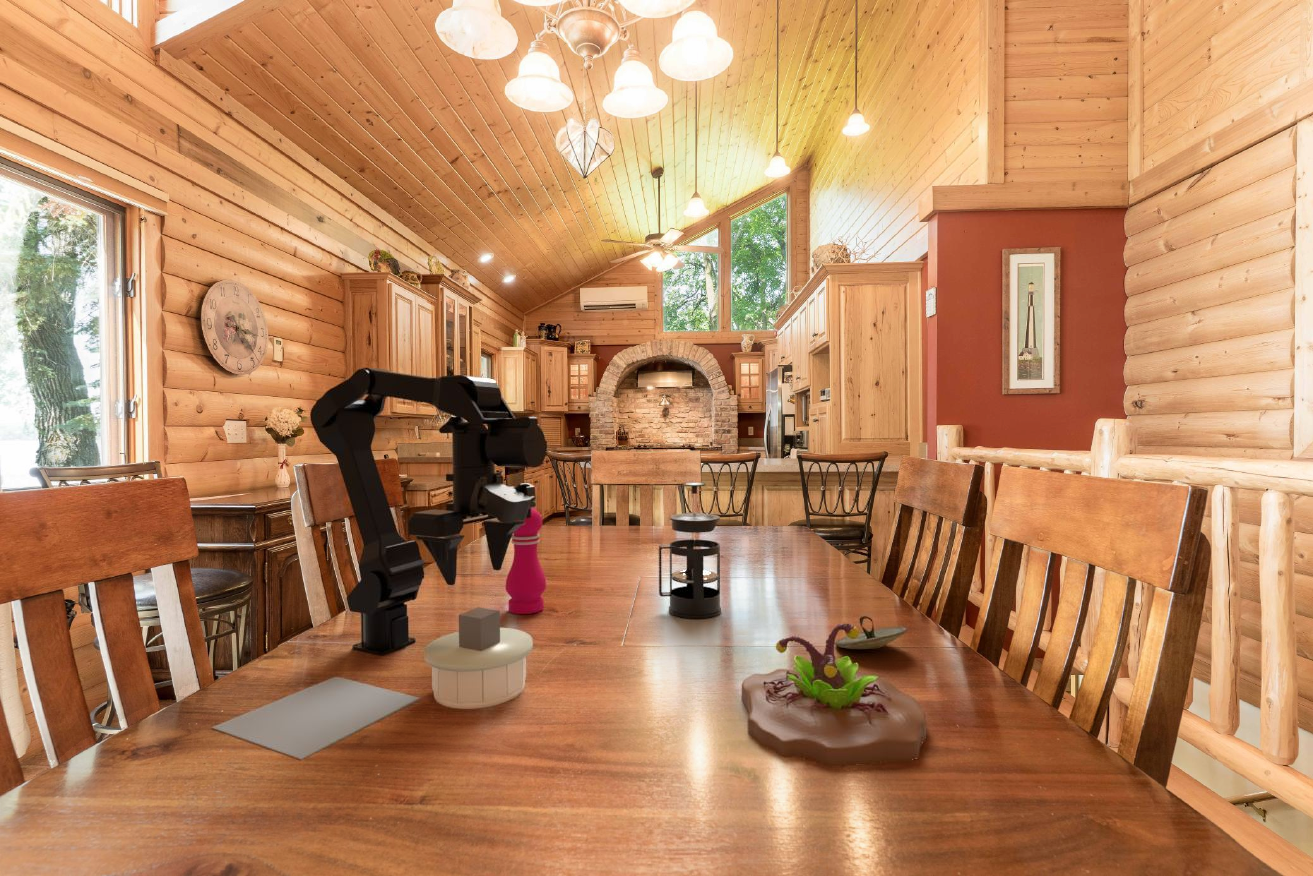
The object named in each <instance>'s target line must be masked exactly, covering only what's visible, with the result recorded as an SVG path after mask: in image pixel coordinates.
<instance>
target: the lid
mask: <svg viewBox="0 0 1313 876" xmlns="http://www.w3.org/2000/svg"><path fill="white" fill-rule="evenodd" d="M865 619H868V620H870V622H871V623H872V624H871V626H872V627H871V629H870V630H867V629H866V628H865V627H864V626H863V621H864V620H865ZM859 624H860V627H861V629H862V632H860V635H859V637H858V638H857V639H851V638H849V637H848V636H847V635H846V636H845V637H842V638H839V639H838V640H835V644H834V645H835V646H837V647H839V648H843V649H850V650H868V649H871V650H873V649H880V648H882V647H883V646H886V645H888V644H890V643H892V642H894V641H895V640H897V639H898V638H900V637H901V636H903V635H904V634H905V633H907V631H908V628H907V627H905V626H895V627H894V626H892V627H886V628H885V627H884V628H877V629H874V628H875V627H874V622H873V618H871V617H870V616H868V615H863V616H861V617H860V618H859Z"/></svg>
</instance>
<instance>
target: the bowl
mask: <svg viewBox="0 0 1313 876" xmlns="http://www.w3.org/2000/svg"><path fill="white" fill-rule="evenodd" d="M526 678H527V656H526V657H524V658H523V659H521V660H519V661H517V662H514V663H512V664H509V665H506V666H502V667H498V668H493V669H488V670H481V671H467V672H459V671H447V670H441V669H438V668H435V667H432V666H431V690H432V691H433V698H434V700H435V702H436V703H438V704H440V705H441V706H443V707H447V708H452V709H457V710H458V709H460V710H473V709H474V710H475V709H477V710H478V709H485V708H489V707H493V706H497V705H501V704H503V703H507V702H509V701H510V700H513V699H515V698H516V697H518V696H519V695H521V693H522V692H523V691H524V690H525V687H526Z"/></svg>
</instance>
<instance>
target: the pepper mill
mask: <svg viewBox="0 0 1313 876" xmlns="http://www.w3.org/2000/svg"><path fill="white" fill-rule="evenodd" d="M522 521H526V522H525V524H524V525H521V526H520V527H519V528H518V529H517V530H516V531H515V532H514V533H513V535H512V537H511V540H510V542H511V544H513V549H514V550H513V551H514V553H513V560H512V564H511V566H510V569H509V571H508V573H507V576H506V580H505V592H506V593H507V594H508V595H509V597H511V598H509V600H508V601H507V603H508V608H507V609H508V612H510V613H512V614H514V615H530V614H536V613H540V612H541V611H543V610H544V609H545V608H544V607H545V602H544V597H543V596H542V595H543V593H544V592H545V591H546V588H547V579H546V576H545V572H544V570H543V568H542V566H541V563H540V560H539V557H538V543H540V541H541V540H540V533H538V532H539V531H540V530H541V528H542V526H543V517H542V514H541V513H540V512H539V511H538V510H537V509H535V508H534V507H533V508H531V518H527V519H525V520H522Z"/></svg>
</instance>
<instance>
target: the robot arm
mask: <svg viewBox="0 0 1313 876" xmlns="http://www.w3.org/2000/svg"><path fill="white" fill-rule="evenodd" d="M366 395H367V396H366ZM365 396H366V397H365ZM363 397H365V398H363ZM387 398H395V399H401V400H407V401H411V402H412V401H413V402H419V403H425V404H429V405H430V406H433V407H434V408H436V409H437V410H438V411H440V412H443V413H446V414H448V415H451V416H450V417H449V418H448V420H447V421H446V422H445V423H444V424H442V426H441V427H440V428H439V429H438V432H439V434H451V435H452V436H451V440H452V442H451V443H452V444H451V445H452V447H451V448H452V451H451V452H452V453H451V454H452V456H451V457H452V458H451V459H452V473H446V474H445V481H446V482H452V502H448V503H446V506H445V507H446V510H445V509H428V510H423V511H422V510H421V511H416V512H413V513H412V514H411V515H410V517H409V518H408V521H407V523H408V524H407V526H408V528H407V529H408V530H407V531H408V534H407V535H409V536H410V535H411V536H415V538H416V540H419V541H422V543H423V544H424V546H425V548H426V549H427V551H429V553H430V555H431V557H432V558H433V560H434V562H435V564H436V567H437V568H438V570H439V571H440V573H441V576H442V577H443V579H444V581H445V583H446V585H447V586H455V584H456V579H457V565H458V564H457V562H458V561H457V560H458V547H459V545H460V543H461V542H462V541H463V539H464V538H465V535H463V534H460V533H461V531H462V530H463V529H464V525H469V524H473V523H478V522H483V528H484V533H485V537H486V542H487V543H486V544H487V548H488V554H489V559H490V562H491V566H492V569H493V571H501V570H502V566H503V563H504V560H505V557H506V554H507V550H508V547H509V545H510V542H511V541H512V535H514V534H513V533H514V532H515V531H516V530H517V529H518V528H519V527H520V526H521V525H524V524H525V522H526V521H522V520H525V519H527V518H531V508H533V509H534V508H535V507H536V505H537V503H536V499H537V498H536V496H537V495H536V488H535V487H536V486H535V485H533V484H531V483H528V482H524V483H519V484H518V485H517V486H508V485H505V484H504V476H503V475H502V472H496V467H502V468H503V467H505V468H538V467H540V466H541V465H542V464H543V462H544V460H545V458H546V455H547V451H548V441H547V440H546V438H545V437H546V436H545V433H544V431H543V429H542V428H541V427H540V426H539V425H538V423H539V422H538V421H539V419H538V417H536V416H521V417H517V418H516V416H515V414H514V413H513V411H512V410H511V408H510V407H509V405H508V404H507V401H505V398H504V397H503V396H502V392H501V389H500V387H499V385H498V382H497V380H495V379H492V378H489V377H484V376H483V377H482V376H474V375H473V376H472V375H464V374H455V375H444V376H443V375H441V376H438V377H430V376H422V375H414V374H407V373H403V372H394V371H389V370H388V369H384V368H376V367H375V368H374V367H362V368H358V369H357V370H356V371H355V372H354V373H353V374H352V375H351V376H350V377H349V378H347V379H346V380H344V381H342V382H340V383H338V384H337V385H335V386H333V387H331V388H329V389H328V390H327V391H325V393H324V394H322V396H320V397H319V399H318V400H316V401H315V403H314V405H313V406H312V407H311V409H310V413H309V414H310V416H309V417H310V422H311V425H312V427H313V430H314V432H315V433H316V436H317V438H318V440H319V443H321V444H322V445H323V446H324V447H325V448H326V449H328V450H329V451H330V452H331V453H332V454H333V455H334V456H335V458H336V460H337V463H338V466H339V470H340V473H341V477H342V480H343V482H344V486H345V488H346V492H347V496H348V498H349V502H350V504H351V508H352V511H353V515H354V518H355V520H356V523H357V527H358V530H359V534H360V537H361V541H362V543H363V548H362V552H361V556H360V559H359V563H358V570H359V571H358V572H359V576H360V581H359V582H357V584H356V585H355V586H354V588H353V589H352V590H351V591H350V592H349V594H348V595H346V596H347V597H346V601H347V602H346V603H347V605H348V609H349V611H350V612H353V613H359V614H360V631H361V632H360V634H361V637H360V639H361V642H358V643H354V644H353V645H352V650H355V651H360V652H364V653H368V654H369V653H370V654H373V655H378V656H384V655H387V654H388V653H392V652H395V651H397V650H399V649H401V648H403V647H406V646H409V645H411V644H414V643H416V640H417V639H416V638H415V637H411V636H409V634H410V631H409V629H410V627H409V626H410V625H409V615H408V605H407V604H405V603H407V602H410V601H415V600H417V597H418V594H419V591H420V587H421V586H422V583H423V580H424V579H425V572H424V567H423V566H426V563H425V561H424V560H423V558H422V555H421V552H420V547H419V544H418V542H417V541H416V540H414V539H413V540H410V541H407V540H405V539H404V538H403V537H402V536H401V535H400V533H399V532H398V531H399V530H398V528H397V526H396V522H395V519H394V516H393V513H392V509H391V507H390V503H389V500H388V496H387V494H386V491H385V488H384V484H383V482H382V478H381V476H380V472H379V468H378V466H377V462H376V460H375V457H374V454H373V451H372V444H373V441H374V438H375V434H376V424H375V419H376V418H377V417H378V416H380V414H381V413H382V412H383V411H384V408H385V404H386V400H387ZM485 425H487V426H485Z"/></svg>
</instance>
